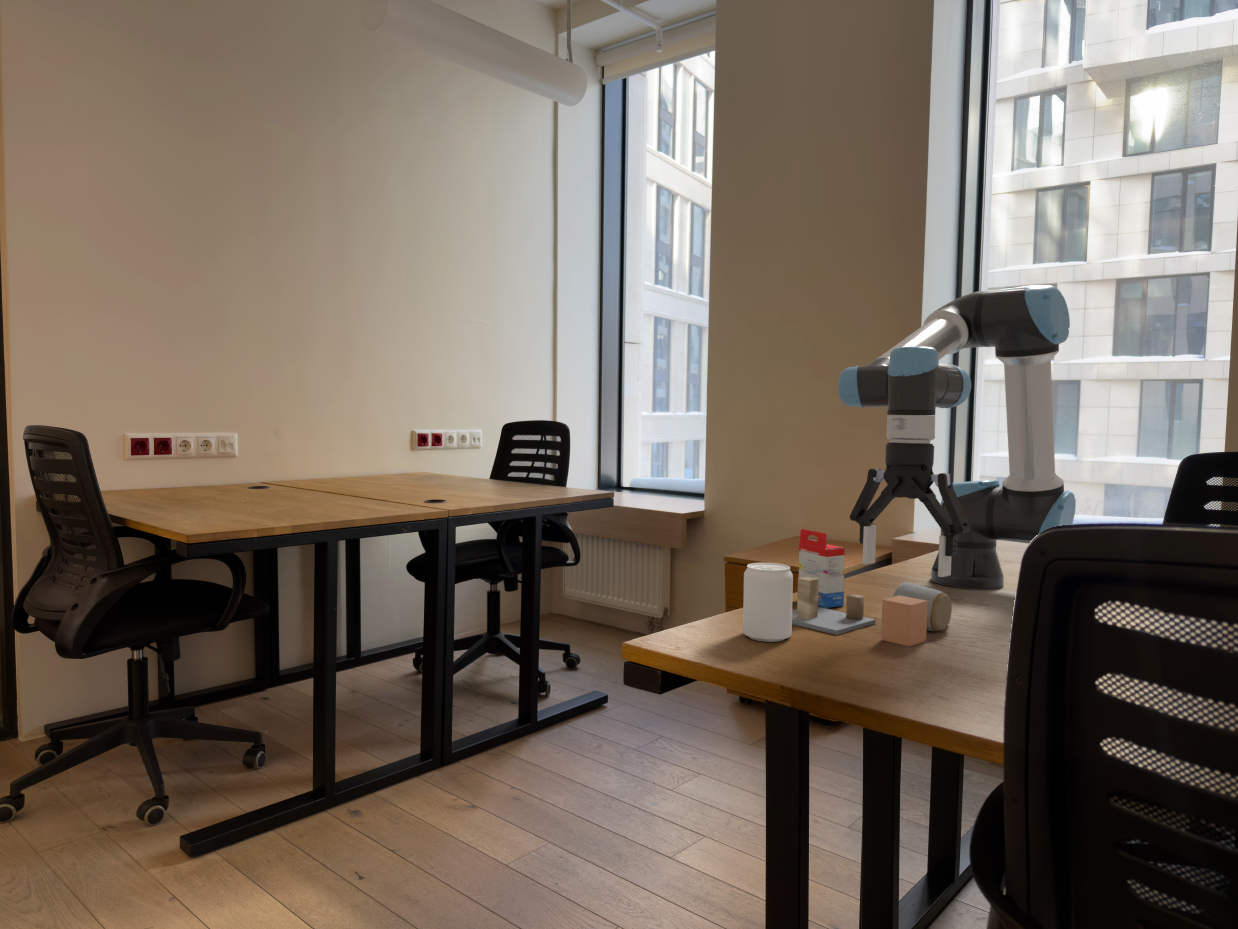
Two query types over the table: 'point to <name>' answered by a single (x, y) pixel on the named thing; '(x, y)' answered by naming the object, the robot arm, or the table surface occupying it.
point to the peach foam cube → (904, 620)
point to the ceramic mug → (929, 604)
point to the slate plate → (837, 618)
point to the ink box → (823, 567)
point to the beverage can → (767, 602)
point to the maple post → (807, 598)
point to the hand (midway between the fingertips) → (905, 569)
